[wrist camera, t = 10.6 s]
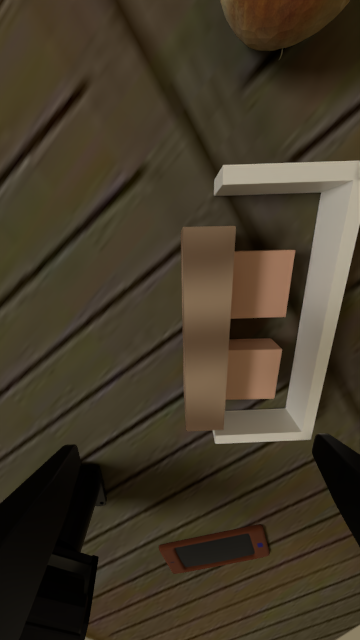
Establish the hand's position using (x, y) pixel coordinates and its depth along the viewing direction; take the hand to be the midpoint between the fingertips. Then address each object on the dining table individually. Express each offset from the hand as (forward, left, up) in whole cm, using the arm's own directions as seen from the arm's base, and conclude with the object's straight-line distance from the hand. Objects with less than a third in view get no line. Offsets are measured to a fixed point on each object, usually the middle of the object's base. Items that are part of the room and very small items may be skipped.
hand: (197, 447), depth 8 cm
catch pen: (+1, -7, -12) cm, 14 cm away
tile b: (+4, -5, -12) cm, 14 cm away
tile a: (-4, -6, -12) cm, 14 cm away
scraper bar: (+1, -1, -12) cm, 12 cm away
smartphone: (-34, -4, -12) cm, 37 cm away
